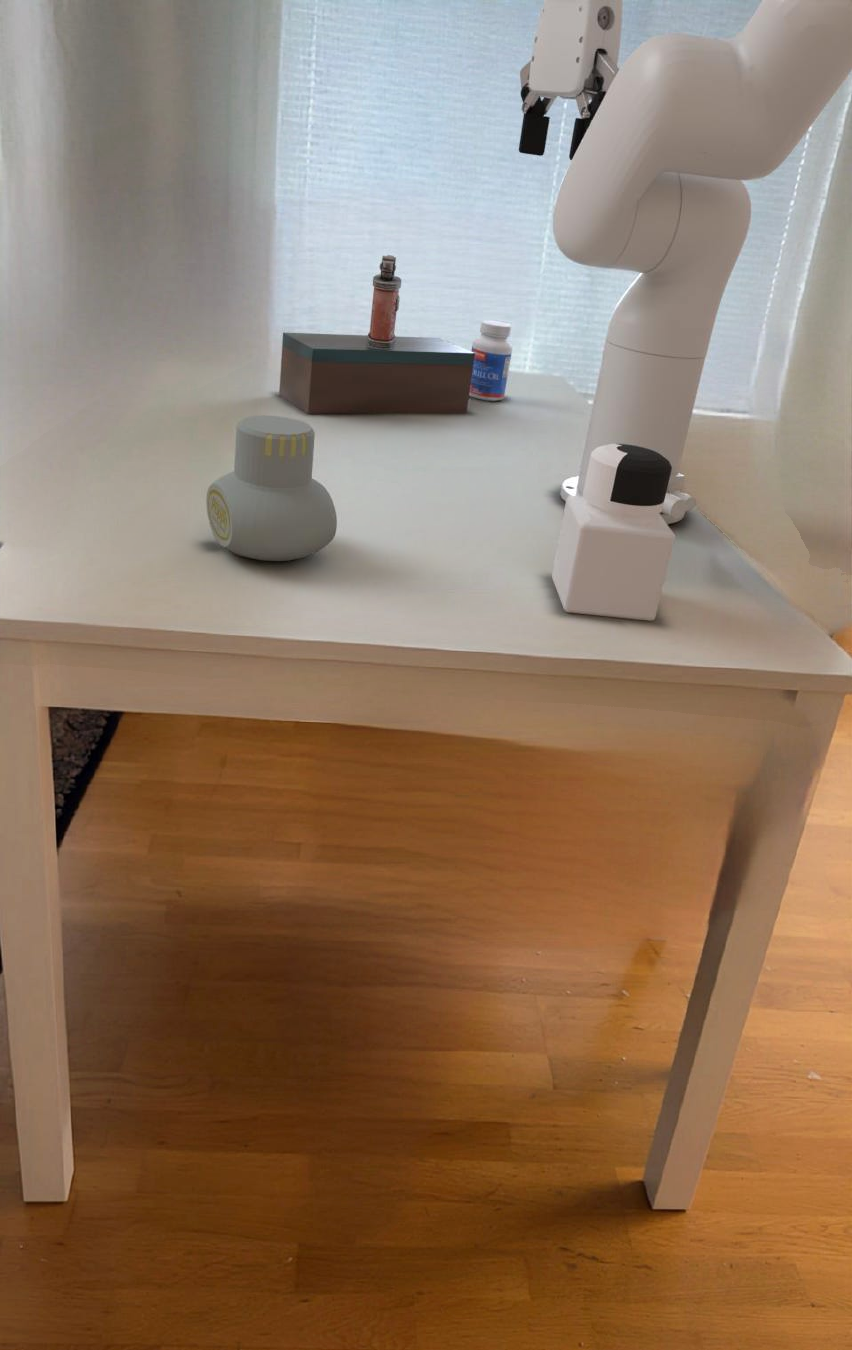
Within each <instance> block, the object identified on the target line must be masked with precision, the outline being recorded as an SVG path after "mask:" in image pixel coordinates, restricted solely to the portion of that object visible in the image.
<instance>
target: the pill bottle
mask: <svg viewBox="0 0 852 1350" xmlns="http://www.w3.org/2000/svg"><path fill="white" fill-rule="evenodd" d="M511 329H512V325H511V324H509V323H507V322H506V323H505V322H502V321H497V320H488V319H487V320H486V319H485V320H482V321H481V324H480V330H479V333H481V334H480V336H477V337H475V338H474V340H473V342H472V345H471V350H470V351H471V352H473V353H475V358H474V365H473V372H472V379H471V386H470V393H469V397H471V398H473V399H478V400H482V401H489V402H494V401H495V402H496V401H501V400H503V399H504V397H505V393H506V388H507V382H508V377H509V371H510V366H511V359H512V353H513V345H512V343H511V342H510V341H508V338H509V337H510V335H511Z"/></svg>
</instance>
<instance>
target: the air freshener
mask: <svg viewBox="0 0 852 1350" xmlns="http://www.w3.org/2000/svg"><path fill="white" fill-rule="evenodd" d="M235 431H236V432H235V448H234V449H235V450H234V467H233V471H230V472H227V473H226V474H224V475H222V476H219V478H217V479H216V480H215V481H213V482H212V483H211V484H210V485H208V488H207V492H206V513H207V518H208V519H207V520H208V523H209V527H210V529H211V533H212V534H213V536H214V538H215V540H216V541H217V543H218V544H219V545H220V546H222V548H224V549H226V550H228V551H230V552H232V553H233V554H235V555H237V556H239V557H242V558H247V559H252V560H257V561H263V562H289V561H294V560H295V561H297V560H299V559H303V558H306V557H309V556H311V555H313V554H316V553H317V552H320V551H321V550H323V549H324V548H326V547H327V546H329V544H330V543H331V542H332V541H333V540H334V539H335V536H336V533H337V527H338V519H337V512H336V508H335V503H334V501H333V498H332V497H331V494H330V492H329V491H328V490H327V489H326V487H325V485H323V484H321V482H319V481H318V480H316V479H315V478H313V467H314V466H313V465H314V452H315V436H316V431H315V430H314V428H313V427H312V426H311V425H310V424H308V423H307V422H305V421H302V420H299V419H295V418H291V417H286V416H279V415H251V416H247V417H243V418H241V420H240V421H239V422H237V424H236V430H235Z"/></svg>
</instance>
